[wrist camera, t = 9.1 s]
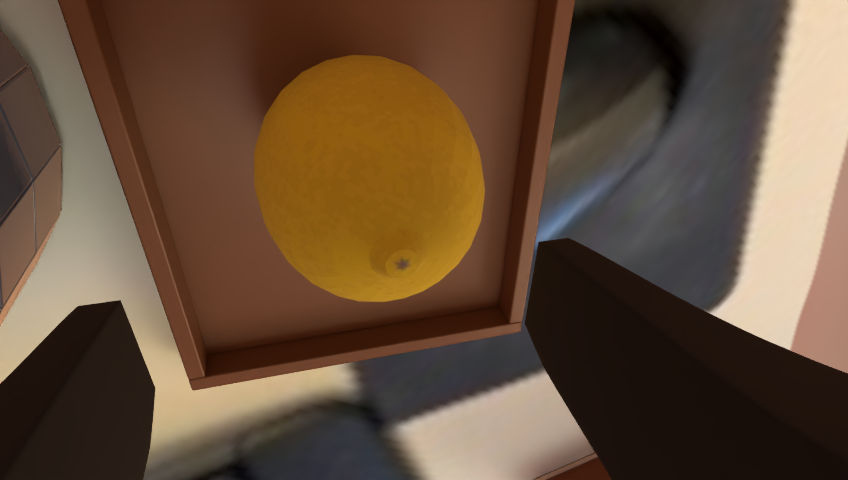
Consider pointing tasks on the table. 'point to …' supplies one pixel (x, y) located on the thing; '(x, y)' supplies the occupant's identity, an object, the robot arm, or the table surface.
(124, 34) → the tray
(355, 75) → the lemon
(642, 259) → the table surface
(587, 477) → the food container
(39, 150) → the bowl
